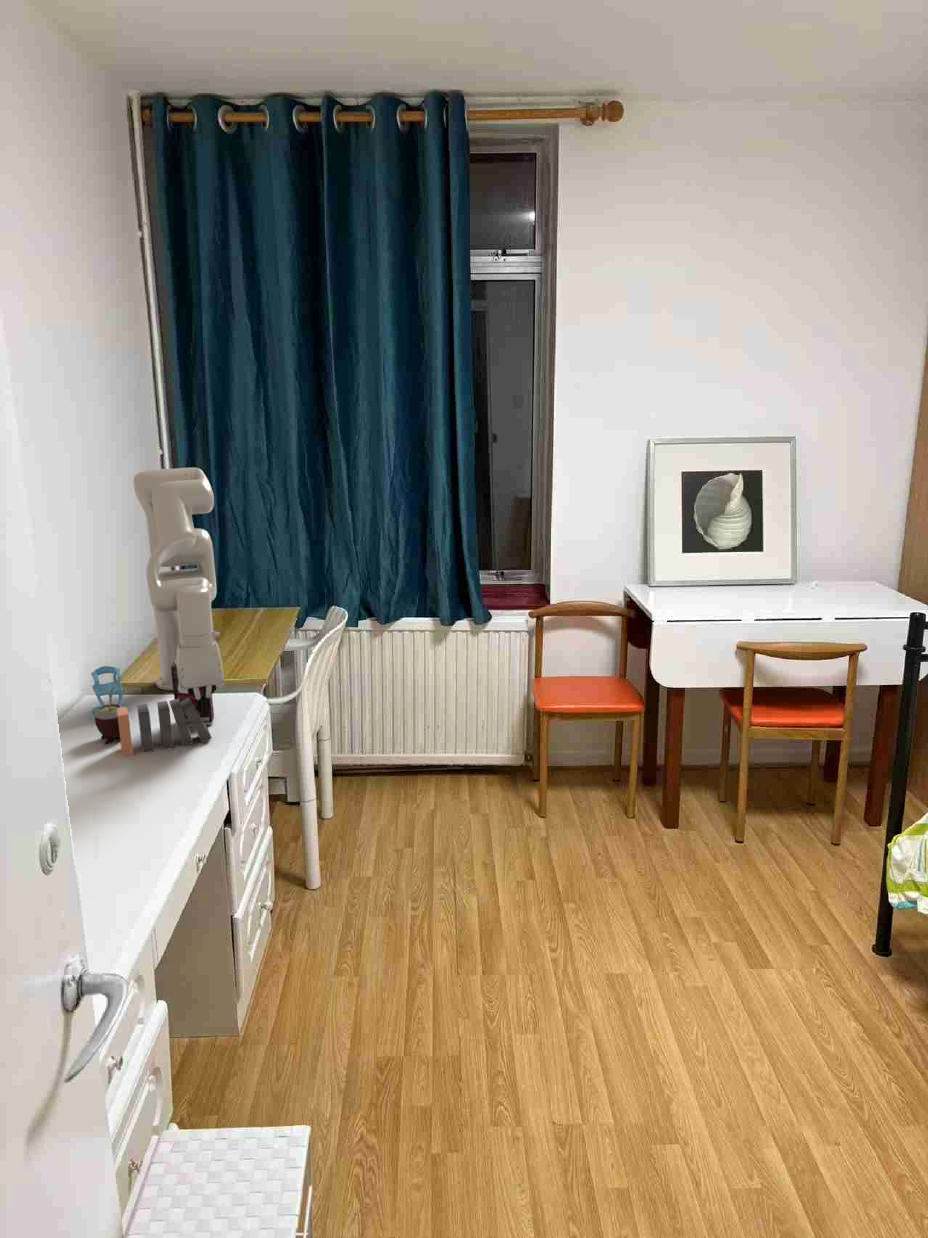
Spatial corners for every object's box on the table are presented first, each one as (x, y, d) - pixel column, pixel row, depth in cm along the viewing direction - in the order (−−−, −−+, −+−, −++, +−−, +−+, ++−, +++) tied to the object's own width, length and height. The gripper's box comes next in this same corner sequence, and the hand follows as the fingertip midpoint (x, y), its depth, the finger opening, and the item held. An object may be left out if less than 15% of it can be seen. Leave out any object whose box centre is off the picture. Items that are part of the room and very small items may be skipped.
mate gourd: (108, 732, 233) (100, 674, 228) (138, 734, 231) (131, 676, 227) (90, 745, 226) (82, 685, 221) (121, 747, 224) (113, 687, 220)
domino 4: (200, 735, 231) (179, 702, 226) (208, 730, 231) (188, 697, 227) (203, 743, 226) (182, 709, 222) (211, 738, 227) (191, 704, 223)
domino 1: (141, 744, 226) (137, 705, 223) (151, 743, 226) (146, 703, 224) (143, 753, 221) (138, 712, 218) (153, 751, 222) (149, 711, 219)
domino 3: (181, 738, 229) (169, 701, 225) (190, 735, 230) (178, 698, 226) (183, 746, 225) (171, 708, 221) (193, 743, 225) (181, 705, 222)
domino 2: (161, 741, 227) (157, 702, 224) (171, 739, 228) (166, 700, 225) (163, 749, 223) (159, 709, 220) (173, 748, 224) (169, 708, 221)
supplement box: (214, 718, 241) (209, 658, 236) (212, 725, 236) (207, 664, 232) (179, 720, 240) (173, 660, 235) (176, 727, 235) (170, 666, 230)
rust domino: (121, 748, 224) (116, 708, 221) (131, 746, 225) (126, 706, 222) (123, 756, 220) (118, 715, 217) (133, 754, 220) (128, 714, 217)
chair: (98, 722, 239) (92, 677, 236) (92, 710, 246) (86, 666, 242) (130, 715, 243) (125, 671, 239) (123, 704, 250) (118, 661, 246)
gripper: (227, 630, 228) (233, 702, 233) (161, 638, 222) (169, 712, 227) (232, 639, 221) (238, 713, 226) (165, 648, 215) (173, 723, 221)
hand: (204, 712), depth 227 cm, fingers closed
